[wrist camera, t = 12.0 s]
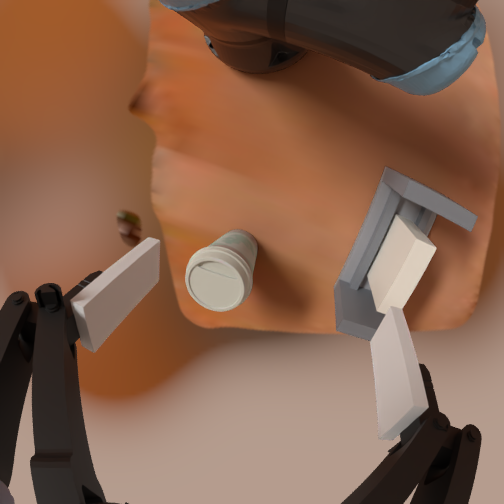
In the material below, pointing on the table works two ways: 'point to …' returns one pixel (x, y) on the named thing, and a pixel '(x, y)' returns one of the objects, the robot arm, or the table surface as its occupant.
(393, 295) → the block
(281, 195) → the table surface
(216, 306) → the coffee cup
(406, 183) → the track
